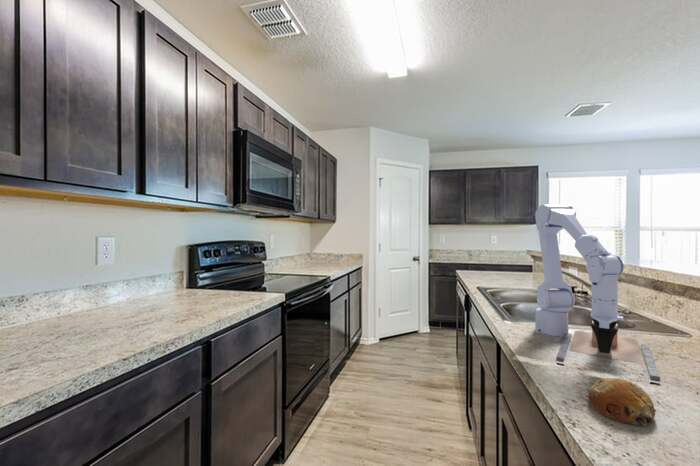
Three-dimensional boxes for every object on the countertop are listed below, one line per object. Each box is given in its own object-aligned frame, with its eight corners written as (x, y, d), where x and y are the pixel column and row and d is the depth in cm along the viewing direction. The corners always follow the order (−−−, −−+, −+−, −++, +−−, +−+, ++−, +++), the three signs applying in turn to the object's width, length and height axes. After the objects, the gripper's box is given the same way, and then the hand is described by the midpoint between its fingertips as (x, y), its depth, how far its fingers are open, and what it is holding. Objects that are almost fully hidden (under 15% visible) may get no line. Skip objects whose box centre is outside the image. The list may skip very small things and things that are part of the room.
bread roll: (644, 426, 65) (635, 382, 69) (672, 431, 57) (661, 380, 60) (585, 417, 69) (580, 376, 72) (603, 420, 60) (596, 373, 63)
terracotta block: (592, 342, 101) (592, 322, 101) (592, 337, 106) (592, 318, 106) (617, 346, 97) (617, 325, 97) (616, 340, 102) (616, 321, 102)
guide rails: (556, 364, 87) (556, 356, 87) (565, 339, 108) (565, 332, 108) (660, 385, 75) (660, 376, 75) (648, 352, 95) (648, 345, 95)
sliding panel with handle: (568, 354, 94) (568, 333, 94) (575, 333, 113) (575, 315, 113) (644, 368, 84) (644, 344, 84) (637, 343, 103) (637, 323, 103)
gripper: (624, 305, 82) (624, 360, 82) (622, 296, 94) (622, 344, 94) (589, 302, 87) (589, 353, 87) (591, 293, 98) (591, 339, 98)
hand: (604, 348), depth 90 cm, fingers open, 7 cm apart
